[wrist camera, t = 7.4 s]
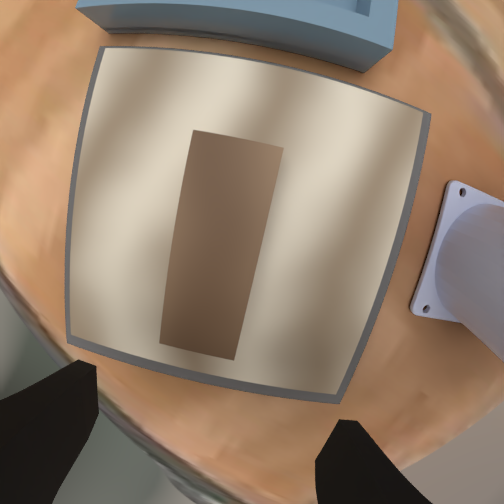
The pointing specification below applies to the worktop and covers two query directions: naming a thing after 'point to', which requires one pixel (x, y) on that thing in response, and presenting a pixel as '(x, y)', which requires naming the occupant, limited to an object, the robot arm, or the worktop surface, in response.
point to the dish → (263, 24)
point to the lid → (235, 215)
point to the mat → (222, 380)
